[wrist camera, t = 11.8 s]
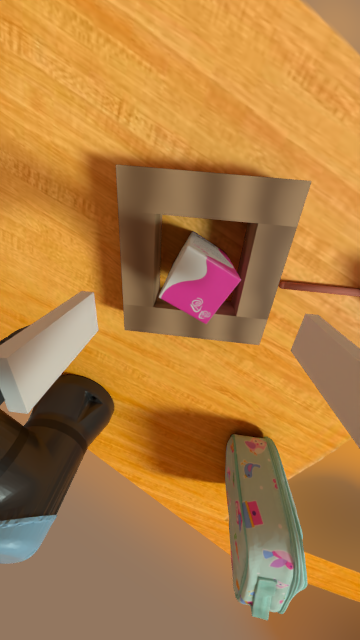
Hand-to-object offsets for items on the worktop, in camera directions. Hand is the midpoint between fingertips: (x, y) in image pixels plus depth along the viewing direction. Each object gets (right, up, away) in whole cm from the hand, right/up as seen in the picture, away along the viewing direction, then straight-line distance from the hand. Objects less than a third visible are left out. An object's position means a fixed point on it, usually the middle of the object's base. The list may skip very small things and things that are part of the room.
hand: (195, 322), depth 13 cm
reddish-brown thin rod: (+19, +5, +16) cm, 26 cm away
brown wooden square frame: (+2, +8, +16) cm, 18 cm away
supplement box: (+2, +9, +16) cm, 18 cm away
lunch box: (+15, -34, +37) cm, 52 cm away
